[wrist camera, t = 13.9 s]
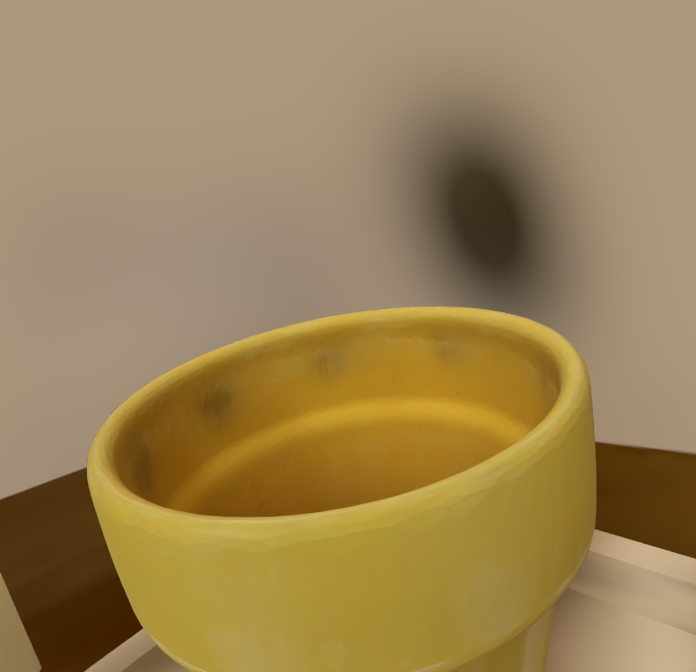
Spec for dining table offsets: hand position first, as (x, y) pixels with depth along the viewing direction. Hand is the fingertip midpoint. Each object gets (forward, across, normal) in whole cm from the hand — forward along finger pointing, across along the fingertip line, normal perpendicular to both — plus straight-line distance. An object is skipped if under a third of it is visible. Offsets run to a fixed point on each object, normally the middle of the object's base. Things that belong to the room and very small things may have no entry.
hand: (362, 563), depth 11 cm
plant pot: (+3, 0, -8) cm, 9 cm away
